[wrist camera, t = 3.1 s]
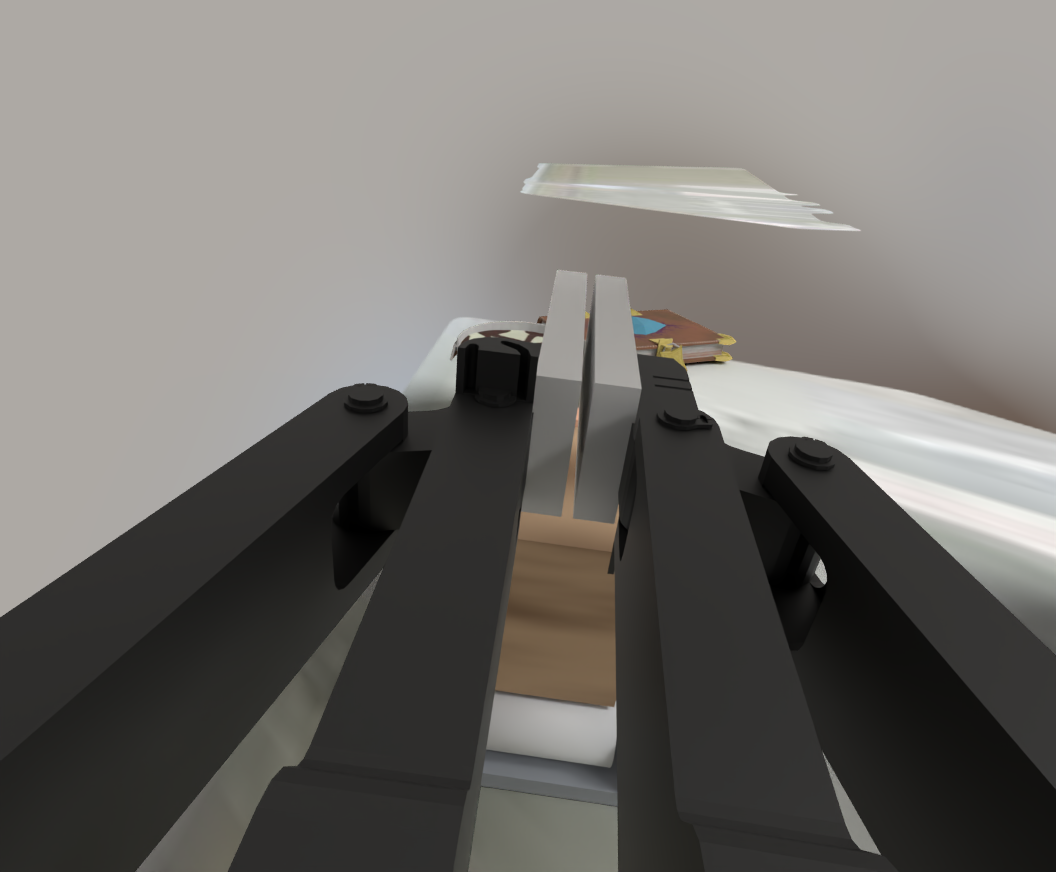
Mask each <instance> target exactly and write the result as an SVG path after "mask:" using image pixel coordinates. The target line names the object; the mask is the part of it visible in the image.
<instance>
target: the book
mask: <svg viewBox="0 0 1056 872" xmlns="http://www.w3.org/2000/svg"><path fill="white" fill-rule="evenodd" d="M630 309H631V308H630ZM631 316H632V324H633V331H634V338H635V345H636V352H637V354H642V355H650V356H658V357H666V358H674V359H675V360H676V361H677V362H678V363H679V364H681V365H682V366H683V367H684V368H685V369H686V366H685V364H684V363H693V362H703V361H713V360H715V361H728V360H731V359H732V357H731V356H730V355H729V354H728V353H726V352H723V351H722V349H723V345H731V344H733V343H735V342H736V341H735V340H734V339H733V338H732V337H731V336H728V335H724V334H718V333H716V332H714V331H712V330H710V329H708V328H705V327H703V326H701V325H699V324H697V323H695V322H692V321H691V320H689V319H686V318H684V317H682V316H680V315H678V314H676V313H674V312H672V311H670V310H651V311H650V310H649V311H635V310H633V309H631ZM589 317H590V314H589V313H587V312H586V311H585V328H584V340H586V337H587V330H588V323H589ZM546 321H547V316H542V317H539V319H538V322H537V323H539V324H544V325H546ZM686 371H687V369H686Z"/></svg>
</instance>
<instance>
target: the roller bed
mask: <svg viewBox="0 0 1056 872" xmlns="http://www.w3.org/2000/svg"><path fill="white" fill-rule="evenodd" d="M578 418H579V408H578V409H577V416H576V423H575V427H578ZM481 786H485V787H491V788H498V789H505V790H511V791H518V792H525V793H531V794H538V795H545V796H552V797H558V798H565V799H572V800H578V801H585V802H592V803H598V804H605V805H612V806H618V802H617V725H616V702H615V706H614V707H609V706H602V705H595V704H588V703H581V702H574V701H567V700H560V699H553V698H546V697H539V696H532V695H525V694H519V693H512V692H505V691H498V690H495V694H494V700H493V707H492V714H491V721H490V727H489V734H488V741H487V747H486V754H485V761H484V767H483V774H482V781H481Z"/></svg>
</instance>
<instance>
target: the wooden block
mask: <svg viewBox="0 0 1056 872" xmlns="http://www.w3.org/2000/svg"><path fill="white" fill-rule="evenodd" d="M577 436H578V427H575V429H574V436H573V442H572V449H571V456H570V462H569V469H568V476H567V482H566V489H565V495H564V502H563V509H562V515H561V517H558V516H551V515H544V514H536V513H529V512H521V517H520V526H519V533H518V540H517V546H516V553H515V560H514V567H513V573H512V580H511V587H510V593H509V600H508V607H507V613H506V620H505V627H504V634H503V640H502V647H501V654H500V660H499V667H498V674H497V680H496V687H495V690H498V691H505V692H512V693H519V694H525V695H532V696H539V697H546V698H553V699H560V700H567V701H574V702H581V703H588V704H595V705H602V706H609V707H614V706H615V702H616V647H615V572H614V574H607V572H608V567H609V563H610V558H611V553H612V548H613V543H614V538H615V533H616V528H617V524H618V519H619V503H618V508H617V513H616V518H615V523H614V524H610V523H603V522H595V521H588V520H581V519H573V508H574V490H575V472H576V454H577Z"/></svg>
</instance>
